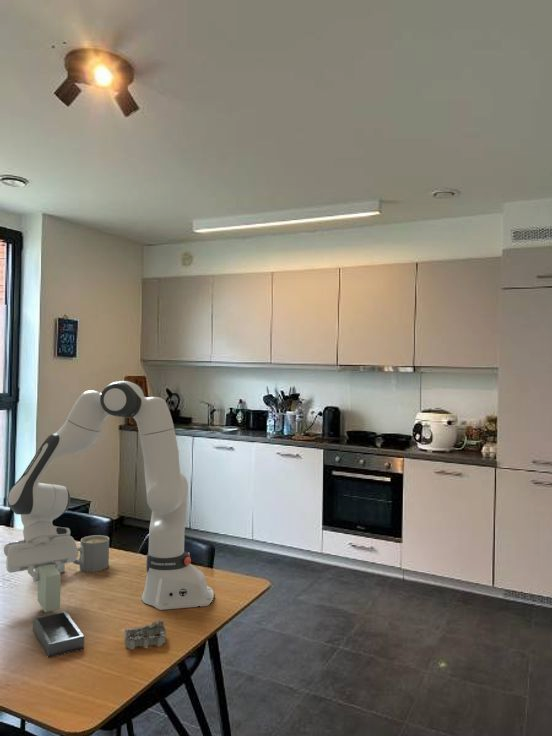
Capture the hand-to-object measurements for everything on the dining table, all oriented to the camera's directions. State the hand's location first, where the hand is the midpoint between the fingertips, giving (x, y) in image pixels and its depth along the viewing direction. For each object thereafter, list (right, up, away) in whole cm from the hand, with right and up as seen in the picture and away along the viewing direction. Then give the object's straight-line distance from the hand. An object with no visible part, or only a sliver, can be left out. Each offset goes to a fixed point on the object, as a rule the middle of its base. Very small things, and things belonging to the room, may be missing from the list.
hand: (46, 579), depth 165 cm
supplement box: (-10, -9, +28) cm, 31 cm away
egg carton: (+34, -10, -19) cm, 40 cm away
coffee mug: (+1, -9, +35) cm, 36 cm away
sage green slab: (+2, -6, -3) cm, 7 cm away
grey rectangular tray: (+11, -9, -19) cm, 24 cm away
